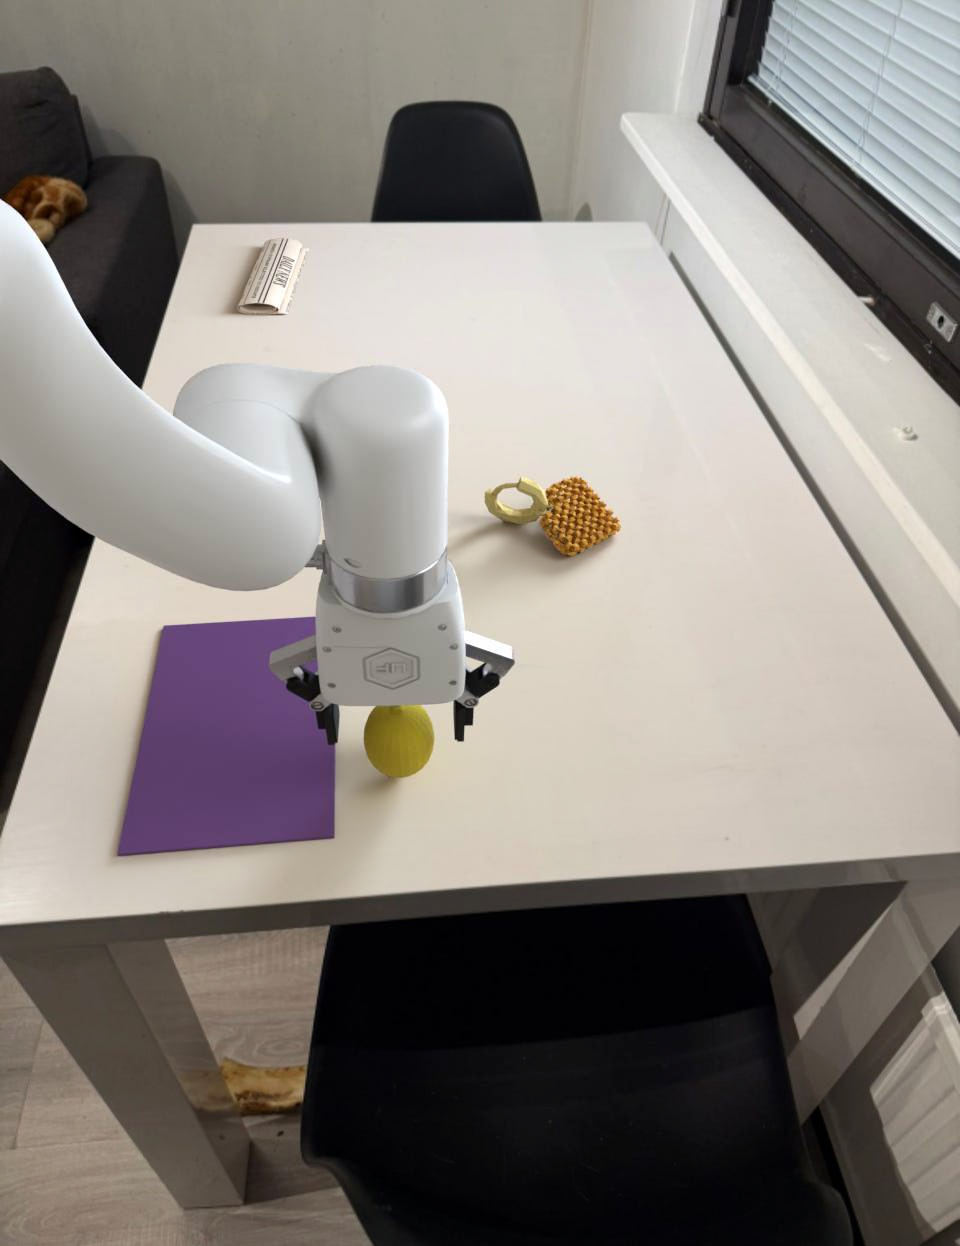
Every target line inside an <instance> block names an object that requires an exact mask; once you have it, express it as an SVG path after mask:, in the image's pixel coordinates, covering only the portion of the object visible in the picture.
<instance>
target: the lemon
mask: <svg viewBox="0 0 960 1246" xmlns="http://www.w3.org/2000/svg"><path fill="white" fill-rule="evenodd" d="M434 745H435V732H434V725H433V722H432V720H431V717H430V716H429V714H428V712H427V711H426V709H425V708H424V707H423V705H398V706H373V708H372V710H371V711H370V713H369V714H368V717H367V719H366V721H365V724H364V729H363V747H364V750H365V754H366V756H367V758H368V760H369V761H370V763H371V765H372V766H373V768H375V769H376V770H377V771H378V772H379V773H381V774H383V775H385V776H387V777H391V778H396V779H397V778H398V779H402V778H407V777H411V776H412V775H415V774H417V773H418V772H420V771H421V770H422V769H423V768H424V767H425V766H426V765H427V764H428V762H429V760H430V758H431V756H432V754H433V751H434Z"/></svg>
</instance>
